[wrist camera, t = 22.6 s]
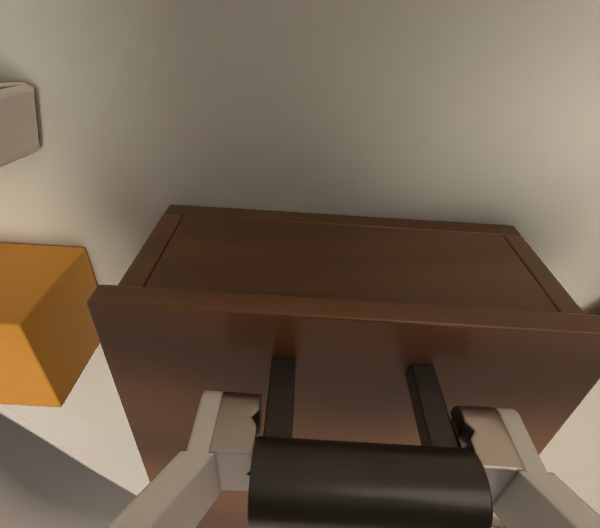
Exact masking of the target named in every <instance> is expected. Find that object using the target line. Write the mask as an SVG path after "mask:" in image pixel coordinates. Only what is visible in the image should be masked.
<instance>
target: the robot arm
mask: <svg viewBox="0 0 600 528" xmlns="http://www.w3.org/2000/svg"><path fill="white" fill-rule="evenodd" d="M261 405H262V394H252V393H238V392H224V391H211V390H205V391H204V393H203V394H202V396H201V400H200V403H199V407H198V411H197V414H196V418H195V422H194V425H193V429H192V433H191V436H190V440H189V443H188V447H187V451H180V452H179V453H178V454H177V455H176V456H175V457H174V458H173V459H172V460H171V461H170V462H169V463H168V464H167V465H166V466H165V467H164V468H163V470H162V471H161V472H160V473H159V474H158V475H157V476H156V477H155V478H154V479H153V480H152V481H151V482H150V483H149V484H148V485H147V486H146V487H145V488H144V489H143V490H142V491H141V492H140V493H139V494H138V495H137V496H136V497H135V498H134V500H132V502H131V503H130V504H129V505H128V506H127V507H126V508H125V509H124V510H123V511H122V512H121V513H120V514H119V515H118V516H117V517H116V518H115V519H114V520H113V521H112V522H111V523H110V524H109V525H108V526H107V527H106V528H196V526H197V525H198V524H199V522H200V521H201V519H202V518H203V517H204V515H205V514H206V512H207V511H208V510H209V508H210V507H211V505H212V504H213V503H214V501H215V500H216V499H217V497H218V496H219V494H220V493H221V491H220V490H229V491H248V489H249V479H250V469H251V461H252V454H253V448H254V443H255V439H256V437H258V436H261V426H262V411H261ZM450 414H451V417H452V419H451V423H452V426H453V429H454V432H455V436H456V439H457V442H458V445H459V448H468V449H470V450H472V451H474V452H475V453H476V454H477V456H478V457H479V459H480V460H481V462H482V464H483V466H484V469H485V471H486V474H487V477H488V481H489V485H490V489H491V495H492V504H493V511H494V513H495V514H496V515H497V516H498V518H499V519H500V520H501V521H502V523H503V524H504V525H505V527H506V528H600V515H599V514H598V513H597V512H595V511H594V510H593V509H592V508H591V507H590V506H589V505H588V504H587V503H586V502H584V501H583V500H582V499H581V498H580V497H579V496H578V495H577V494H576V493H575V492H574V491H572V490H571V489H570V488H569V487H568V486H567V485H566V484H565V483H564V482H563V481H561V480H560V479H559V478H558V477H557V476H556V475H555V474H554V473H550V472H547V471H546V469H545V467H544V465H543V463H542V461H541V459H540V457H539V454H538V452H537V450H536V448H535V446H534V444H533V442H532V440H531V438H530V436H529V434H528V432H527V430H526V428H525V426H524V424H523V421H522V419H521V417H520V415H519V413H518V412H517V411H516V410H515V409H511V408H493V407H482V406H458V405H456V406H455V407H453V408H452V410H451V412H450Z"/></svg>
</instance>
